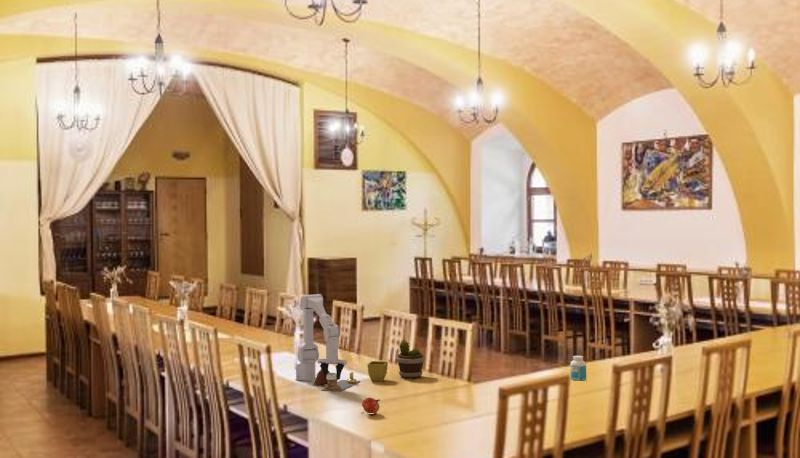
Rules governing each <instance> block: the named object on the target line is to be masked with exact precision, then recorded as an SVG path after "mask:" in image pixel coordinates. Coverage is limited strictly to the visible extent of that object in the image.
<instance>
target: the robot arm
mask: <svg viewBox="0 0 800 458" xmlns="http://www.w3.org/2000/svg"><path fill="white" fill-rule="evenodd" d="M300 310H301V311H302V312H303V313H302V315H303V317H302V318H303V323H302V324H303V328H302V329H303V342H302V343H301V344H299V345H298V349H297V353H296V354H297V355H296V356H297V360H298V361H297V363H296V366H295V379H294V380H295V381H306V382H307V381H308V382H314V381H315V379H316V377H317V376H316V375H317V373H316V362H317V364H320V365H319V367H320V370H321V369H322V371H323V373H324V377H325V379H326V374H327V373H328V371H329V366H330V365H335V371H336V372H335V373H337V381H340V379H341V375H342V371H343V370H344V367H345V366H346V365H347V364H348V360H346V359H340V358H339V337H340V335H341V329H340V325H338V324H337V323H335V322H334V321H333V318H332V317H331V315H330V314H327V312H326V309H325V306H324V297H323V295H322V293H317V294H302V296H301V298H300ZM314 312H315V313H316V314H317V315H318V317H319V319H318V321H319V323H320V325H321V327H322V329H323V332H322V333H323V336H324V342H325V358H319V357H320V350H319V346H318V345H317V344H316V343H315V342H314Z"/></svg>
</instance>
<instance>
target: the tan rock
mask: <svg viewBox="0 0 800 458" xmlns="http://www.w3.org/2000/svg"><path fill="white" fill-rule="evenodd" d="M337 382H338V380H337V379H335V380H328V384H326V385H324V388H325V389H339V388H340V385H337Z"/></svg>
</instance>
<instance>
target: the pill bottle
mask: <svg viewBox="0 0 800 458" xmlns="http://www.w3.org/2000/svg"><path fill="white" fill-rule="evenodd" d="M569 365H570V381H571V380H573V381H585V380H586V381H587V363H586V361H584V356H583V355H572V360H571V361H570V364H569Z"/></svg>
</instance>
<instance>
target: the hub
mask: <svg viewBox="0 0 800 458" xmlns="http://www.w3.org/2000/svg"><path fill="white" fill-rule="evenodd" d="M346 380H347V383H349V384H353V383H356V381H357V378H354V372H353V371H350V372H349V378H348V379H346Z"/></svg>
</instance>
